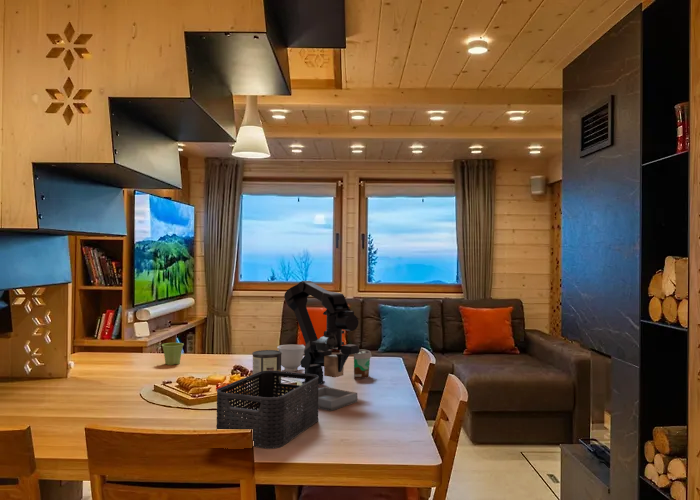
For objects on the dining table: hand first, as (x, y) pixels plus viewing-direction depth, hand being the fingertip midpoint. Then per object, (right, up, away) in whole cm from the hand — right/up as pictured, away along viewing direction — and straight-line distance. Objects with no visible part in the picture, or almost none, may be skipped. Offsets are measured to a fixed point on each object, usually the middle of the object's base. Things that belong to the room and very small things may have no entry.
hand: (333, 371), depth 202 cm
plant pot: (-73, -7, +45) cm, 86 cm away
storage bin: (-16, -6, -48) cm, 51 cm away
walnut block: (0, -2, 0) cm, 2 cm away
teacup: (-18, -7, +34) cm, 40 cm away
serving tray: (-1, -6, -19) cm, 20 cm away
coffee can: (-24, -7, -5) cm, 25 cm away
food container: (+11, -7, +23) cm, 26 cm away
